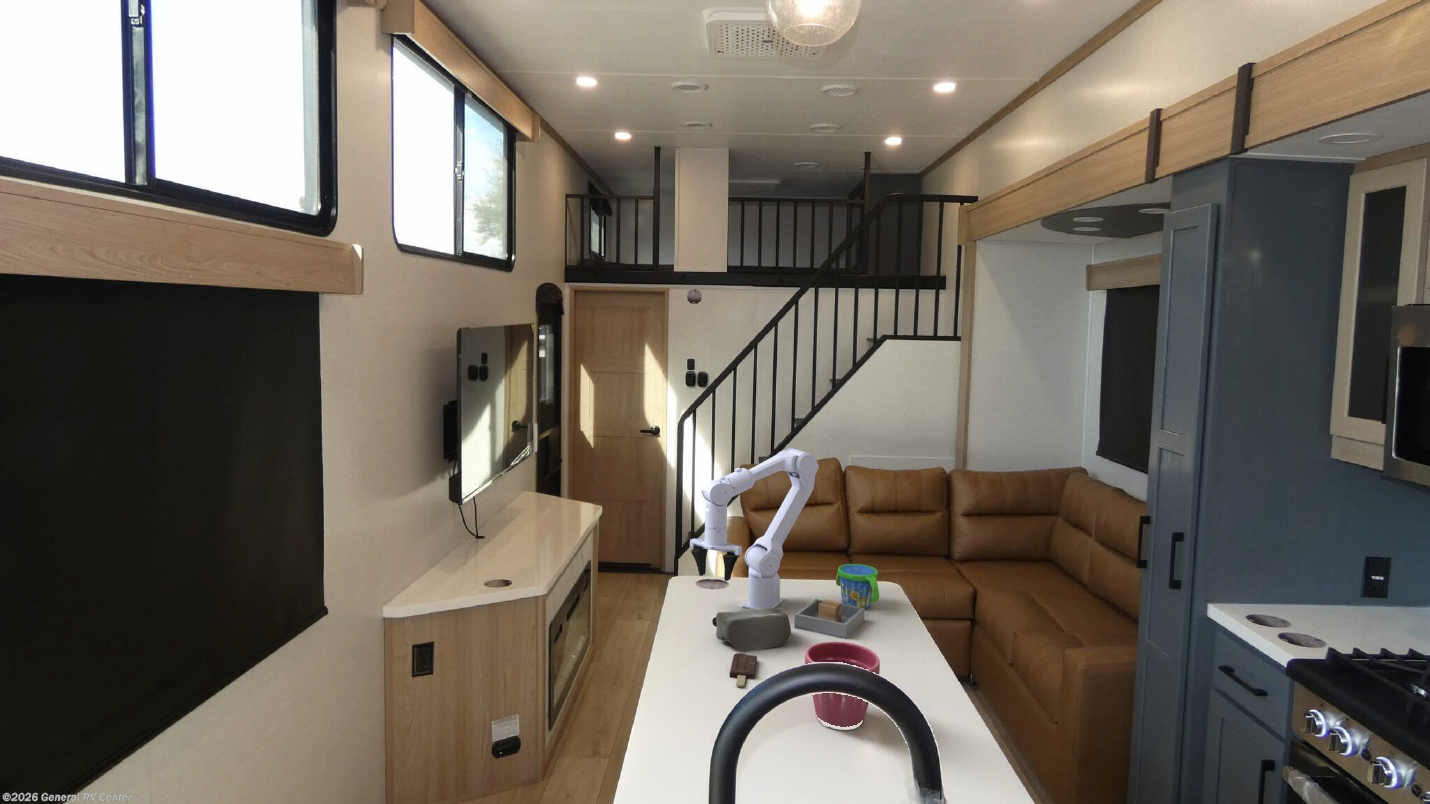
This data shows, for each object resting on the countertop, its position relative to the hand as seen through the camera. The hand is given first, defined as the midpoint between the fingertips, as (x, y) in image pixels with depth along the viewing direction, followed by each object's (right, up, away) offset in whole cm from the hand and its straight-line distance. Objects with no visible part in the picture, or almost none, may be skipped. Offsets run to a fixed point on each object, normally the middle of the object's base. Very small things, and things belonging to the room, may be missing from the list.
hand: (714, 577), depth 208 cm
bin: (+29, -11, -7) cm, 32 cm away
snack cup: (+39, -10, +8) cm, 41 cm away
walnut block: (+29, -10, -7) cm, 32 cm away
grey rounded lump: (+9, -12, -18) cm, 23 cm away
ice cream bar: (+6, -14, -35) cm, 38 cm away
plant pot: (+24, -15, -55) cm, 62 cm away
